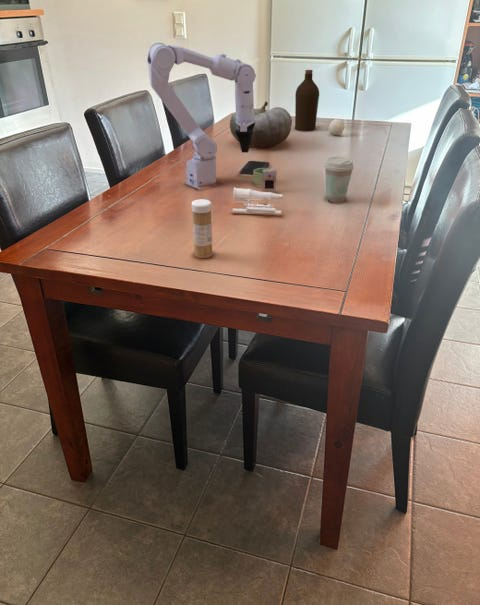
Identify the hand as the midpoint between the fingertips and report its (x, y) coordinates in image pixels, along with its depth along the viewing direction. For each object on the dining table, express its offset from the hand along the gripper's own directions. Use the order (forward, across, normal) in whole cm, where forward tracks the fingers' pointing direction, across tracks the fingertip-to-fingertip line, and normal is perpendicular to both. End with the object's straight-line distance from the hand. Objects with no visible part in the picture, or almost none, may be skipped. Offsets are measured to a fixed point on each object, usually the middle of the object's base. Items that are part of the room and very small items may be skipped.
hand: (246, 148), depth 167 cm
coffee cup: (+12, -17, -28) cm, 35 cm away
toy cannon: (+10, -29, -5) cm, 32 cm away
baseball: (+9, +66, -34) cm, 75 cm away
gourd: (+11, +46, -2) cm, 48 cm away
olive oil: (+13, +76, -21) cm, 80 cm away
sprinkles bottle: (+9, -58, +6) cm, 59 cm away
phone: (+11, +10, -2) cm, 15 cm away
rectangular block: (+10, -13, -8) cm, 19 cm away
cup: (+11, -4, -6) cm, 13 cm away
